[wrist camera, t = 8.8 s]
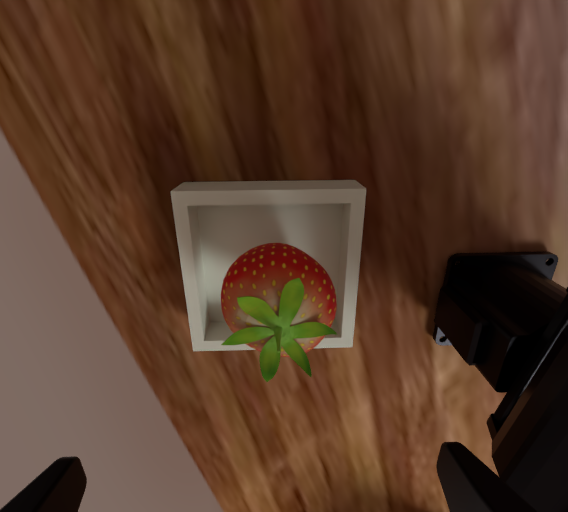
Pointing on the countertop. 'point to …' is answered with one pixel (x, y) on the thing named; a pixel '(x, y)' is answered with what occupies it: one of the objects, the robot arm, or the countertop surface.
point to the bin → (261, 230)
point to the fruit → (278, 304)
